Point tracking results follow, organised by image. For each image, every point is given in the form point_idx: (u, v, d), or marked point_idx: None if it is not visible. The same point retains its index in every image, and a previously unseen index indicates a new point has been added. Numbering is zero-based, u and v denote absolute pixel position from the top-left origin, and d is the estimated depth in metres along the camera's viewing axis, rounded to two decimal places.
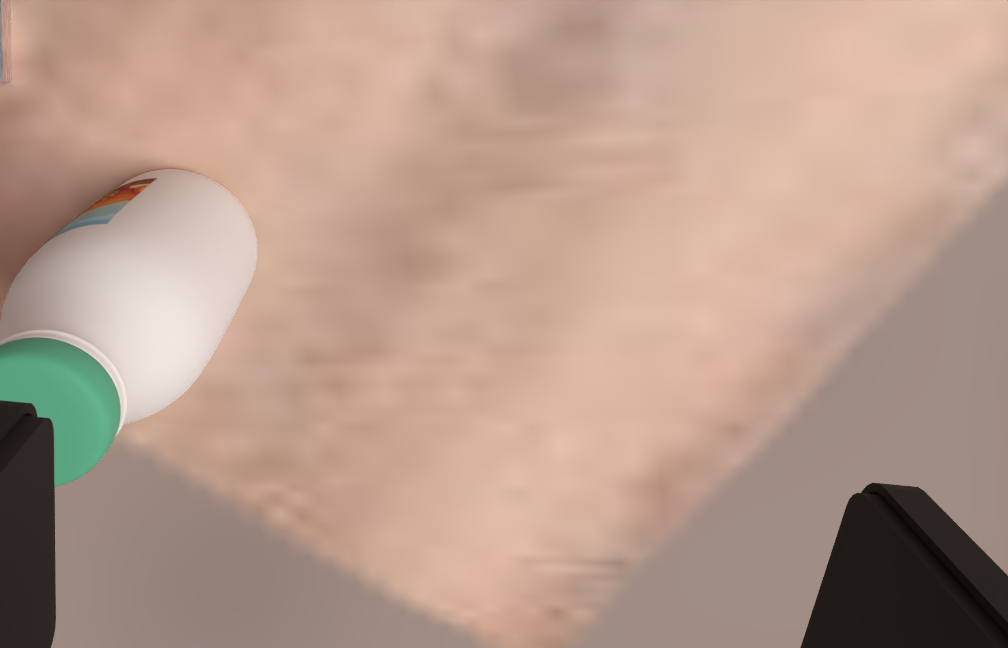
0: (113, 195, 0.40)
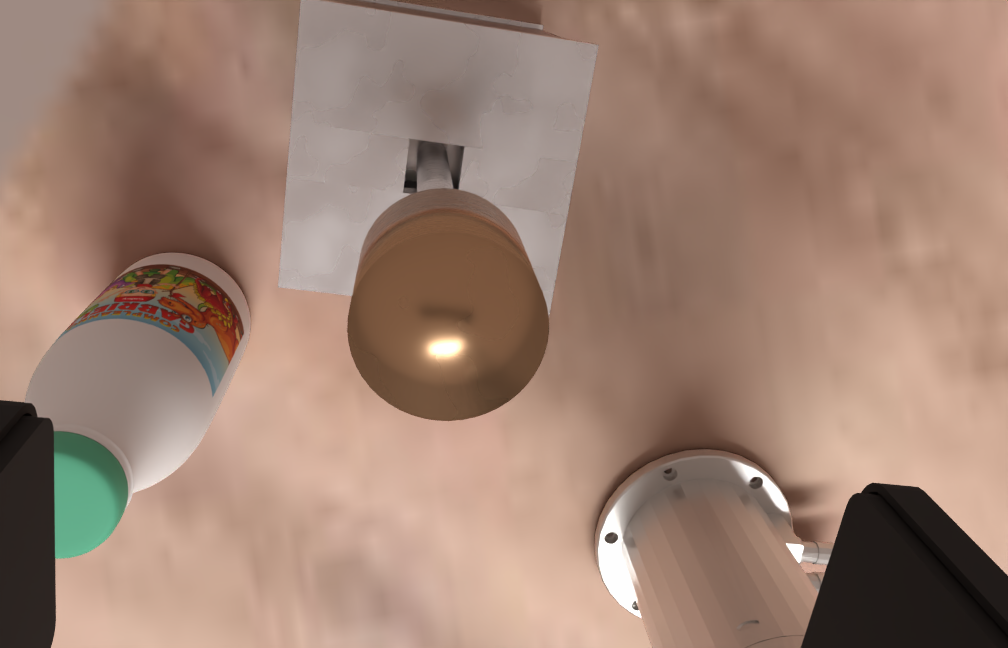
0: (229, 329, 0.46)
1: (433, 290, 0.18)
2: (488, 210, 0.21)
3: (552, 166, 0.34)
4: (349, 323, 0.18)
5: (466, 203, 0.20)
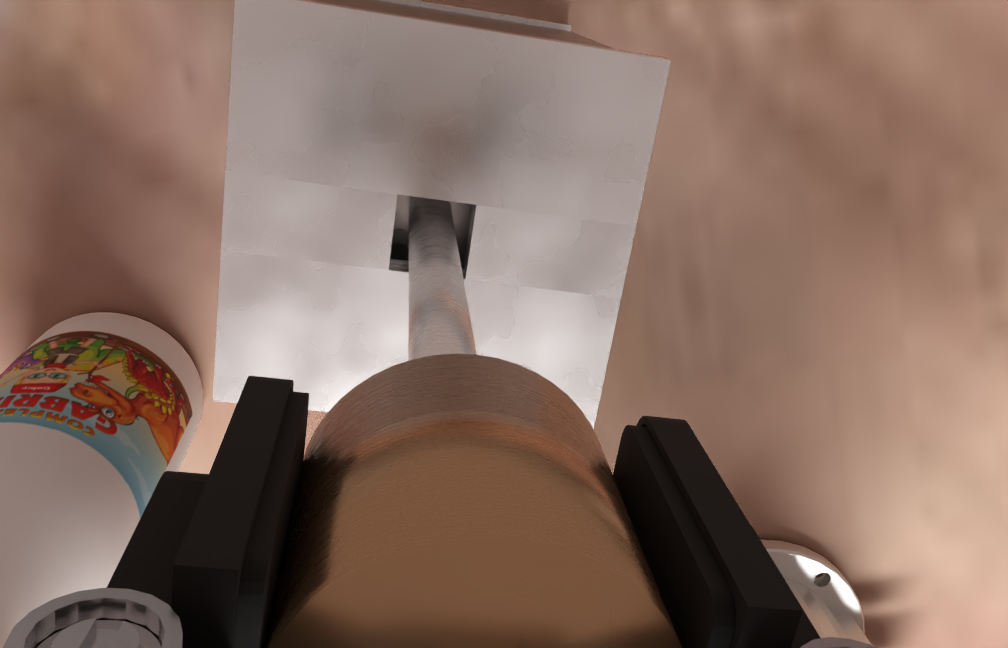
0: (169, 417, 0.36)
1: None
2: (546, 412, 0.10)
3: (601, 231, 0.24)
4: None
5: (503, 404, 0.10)
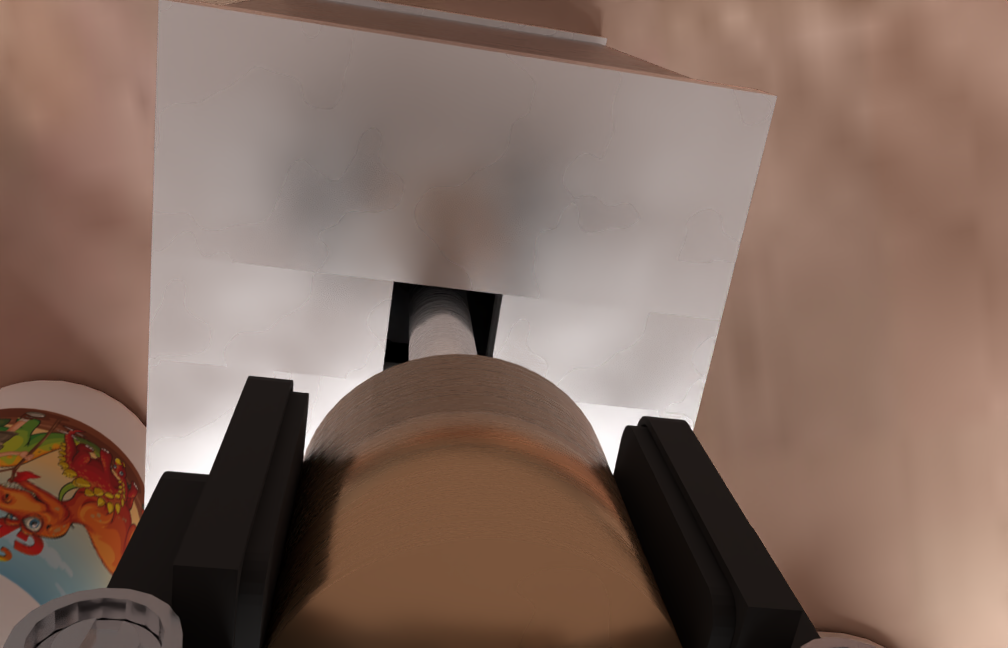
0: (117, 516, 0.30)
1: None
2: (546, 413, 0.10)
3: (673, 328, 0.18)
4: None
5: (504, 405, 0.10)
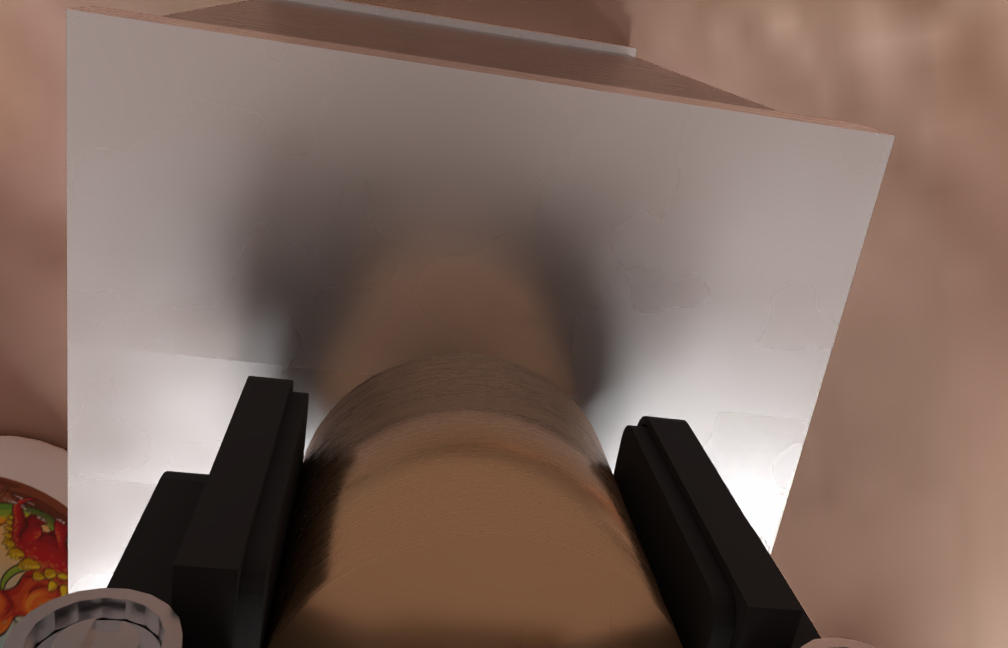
0: None
1: None
2: (546, 412, 0.10)
3: (748, 431, 0.14)
4: None
5: (504, 404, 0.10)
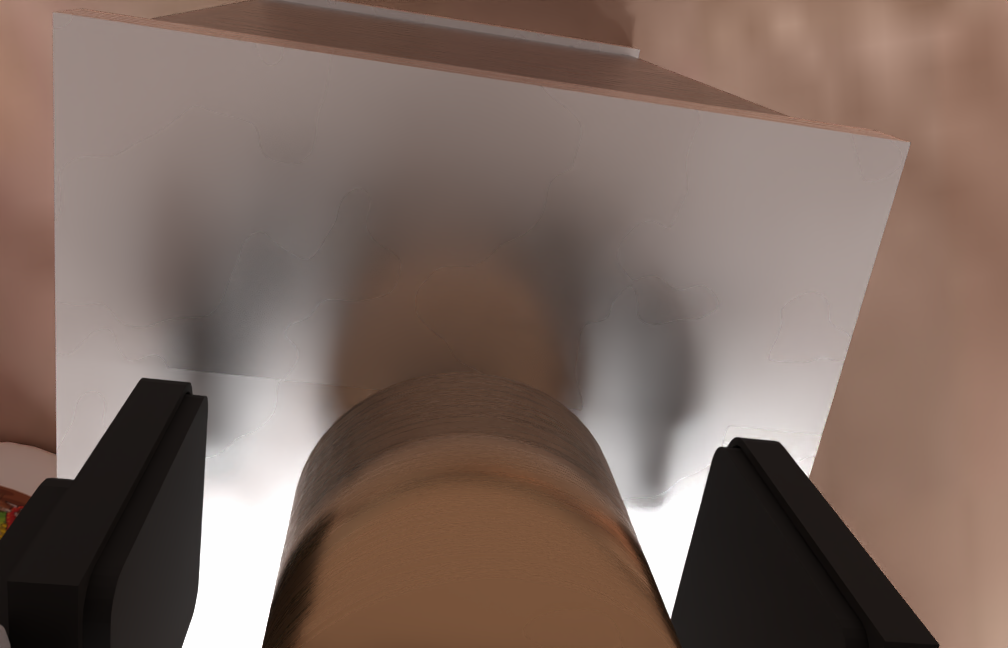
0: None
1: None
2: (552, 435, 0.10)
3: None
4: None
5: (508, 428, 0.10)
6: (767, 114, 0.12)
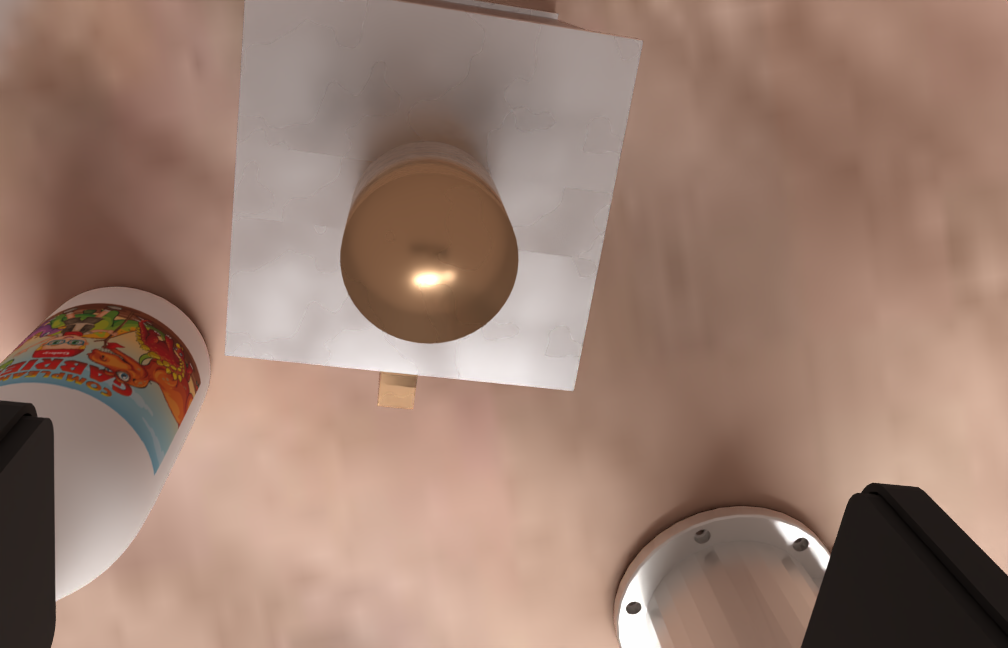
0: (180, 383, 0.38)
1: (416, 224, 0.21)
2: (466, 159, 0.23)
3: (580, 198, 0.26)
4: (341, 254, 0.21)
5: (446, 152, 0.23)
6: (579, 29, 0.25)
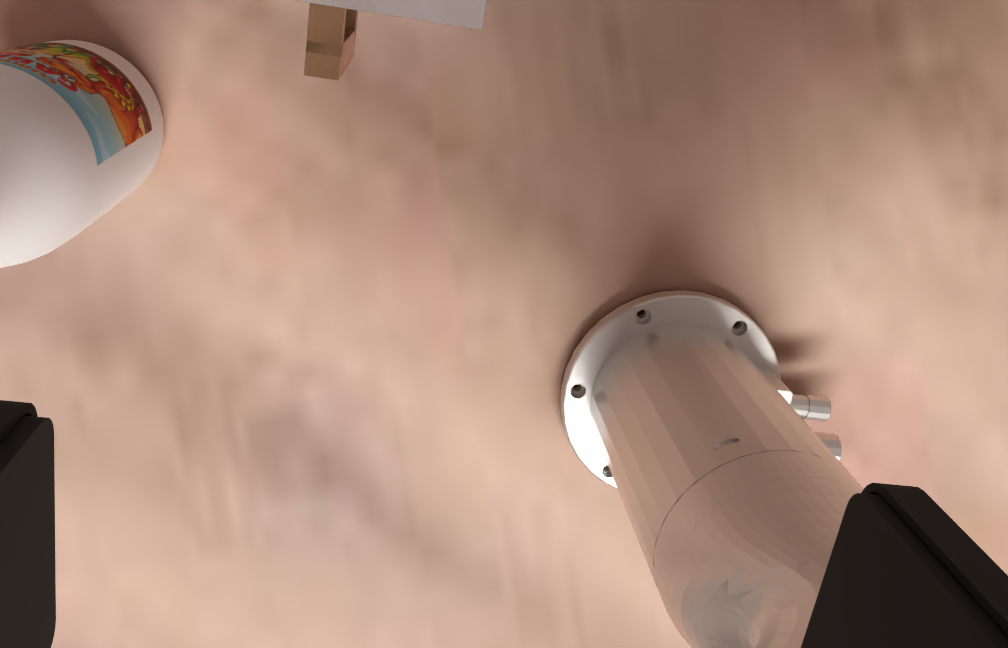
0: (128, 112, 0.40)
1: None
2: None
3: None
4: None
5: None
6: None
